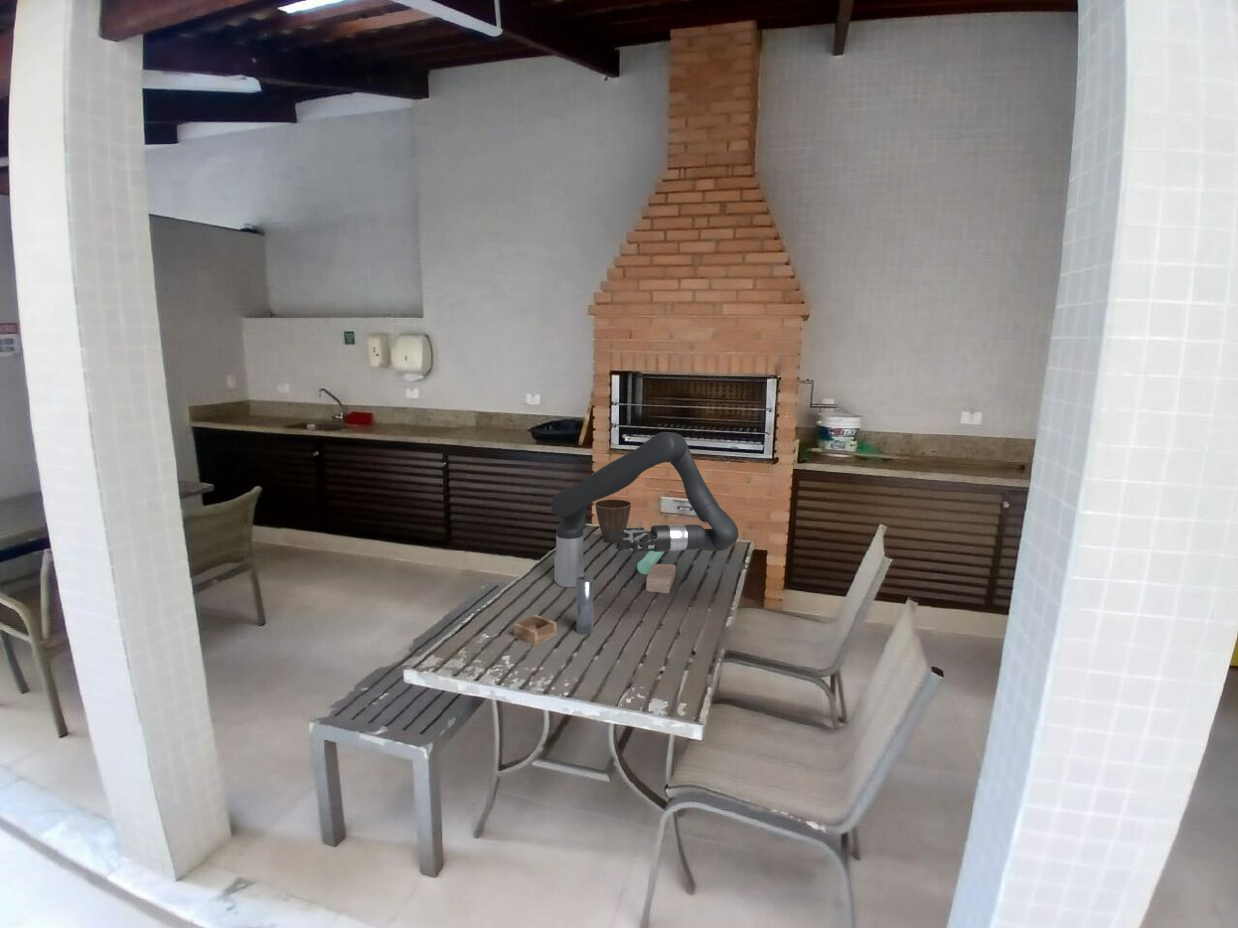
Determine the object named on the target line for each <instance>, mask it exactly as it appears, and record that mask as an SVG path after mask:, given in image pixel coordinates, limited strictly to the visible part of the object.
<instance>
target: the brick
mask: <svg viewBox="0 0 1238 928" xmlns="http://www.w3.org/2000/svg"><path fill="white" fill-rule="evenodd" d="M676 569H677V566H676V564H671V563H666V564H665V563H656V564H653V565H652V569H651V571H650V573H649V574H647V577H646V578H645V579H646V580H645V582H646V583H645V591H646V592H650V593H651V592H652V593H661V594H669V593H670V592H671V589H672V586H673V583H674V580H675V577H676V571H677V570H676Z"/></svg>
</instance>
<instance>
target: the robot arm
mask: <svg viewBox="0 0 1238 928" xmlns="http://www.w3.org/2000/svg"><path fill="white" fill-rule="evenodd" d="M663 463H664V464H665V463H670V464H671V466H673V468H674V469H675V470H676V471H677V473H678V475H679V477H680V478H681V481H682V485H683V488H684V492H685V495H686V498H687V500H688V502H689V504H690V506H691V508H692V510H693V512H694V513H695V514H696V516H697V518H698V519H699V520H700V521H701V522H703V523H707V524H708V525H709V526H710V527H711V528H704V527H703V526H702V525H700V524H685V525H684V524H655V525H652V526H650V527H651V528H650V531H646V530H645V528H644V527H626V528H624V530H623V531H612V532H610V539H611V540H614V539H622V541H616V543H615V549H616V550H630V551H633V552H634V553H643V552H649V551H654V552H664V553H665V552H679V551H685V550H703V551H711V552H721V551H722V552H723V551H726V550H728V549H729V548H730V547H731V546H733V544H735V542H737V540H738V539H739V529H738V526H737V524H736V523H735V521H734V520H733V519H732V517H730V515H729V514H728V513H727V512H726V511H725V510H724V509H723V508H721V506H720V505H719V503H718V502H717V500H716V499H715V497H714V494H713V493H712V492H711V490H710V488H709V487H708V485H707V483H706V481H704V479H703V477H702V475H701V473H700V470H699V469H698V466H697V464H696V462H695V460H694V458H693V455H692V453H691V450H690V448H689V446H688V443H687V441H686V439H685V438H684V437H683V436H682V435H681V434H679V433H676V432H671V431H669V432H668V431H662V432H659V433H656V434H655V435H653V436H652V437H651V438H649V439H648V440H646V442H644V443H642V444H641V445H640V446H638V447H637V448H635V449H634V450H632V451H631V452H628V453H627V454H624V455H622V456H620V457H619V458H617V459H615V460H613V461H611V462H609V463H607V464H606V465H604V466H602V467H600V469H598V470H596V471H595V472H593V473H592V474H591V475H589V476H587V478H585V479H583V480H582V481H580V482H579V483H577V484H575V485H573V486H571V487H569V488H566V489H563V490H560V491H558V492H556V493H555V495H553V497H552V499H551V503H550V509H551V512H552V513H553V514H554V515H555V516H556V517H558V518H560V519H561V520H560V522H559V523H558V524H557V526H556V530H555V533H556V534H555V537H556V551H555V552H556V554H555V555H554V557H553V558H554V582H555V583H556V584H557V585H558V586H560V587H561V588H562V587H563V588H575V587H576V579H577V578H579V577H584V530H585V527H586V521H587V505H589V504H590V503H593V502H597V501H600V500H601V499H604V498H606V497H608V496H611V495H614V494H615V493H618V492H619V491H621V490H623V489H625V488H627V487H628V486H630V485H631V484H633V483H634V482H635V481H636V480H637V478H638V477H639V476H640V475H642V473H644V472H646V470H649V469H651V468H653V467H655V466H658V465H660V464H663Z"/></svg>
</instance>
